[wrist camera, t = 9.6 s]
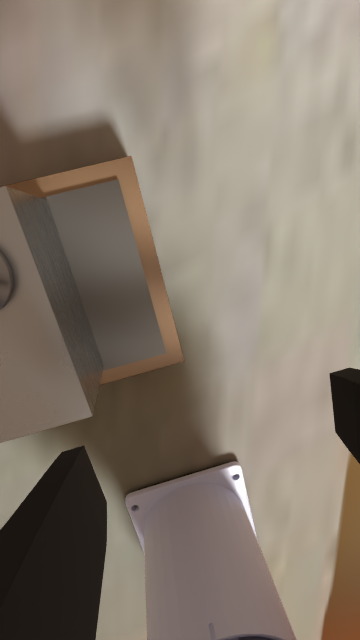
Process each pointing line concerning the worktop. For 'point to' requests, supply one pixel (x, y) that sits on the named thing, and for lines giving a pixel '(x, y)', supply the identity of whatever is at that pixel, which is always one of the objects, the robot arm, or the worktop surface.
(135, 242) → the stand
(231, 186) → the worktop surface
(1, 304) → the housing
